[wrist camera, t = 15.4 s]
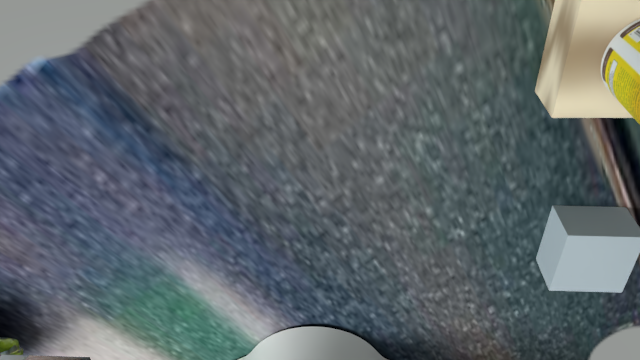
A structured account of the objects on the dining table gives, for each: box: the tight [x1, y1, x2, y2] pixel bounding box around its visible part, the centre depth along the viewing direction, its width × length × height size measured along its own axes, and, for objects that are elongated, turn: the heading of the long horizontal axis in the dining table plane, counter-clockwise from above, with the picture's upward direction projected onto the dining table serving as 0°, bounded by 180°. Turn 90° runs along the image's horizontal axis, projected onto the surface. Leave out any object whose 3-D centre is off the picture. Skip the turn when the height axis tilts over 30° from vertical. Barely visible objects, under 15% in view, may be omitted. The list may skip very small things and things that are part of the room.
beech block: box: [535, 0, 640, 118], centre depth 36 cm, size 9×9×4 cm
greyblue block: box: [536, 205, 640, 292], centre depth 47 cm, size 6×6×4 cm
